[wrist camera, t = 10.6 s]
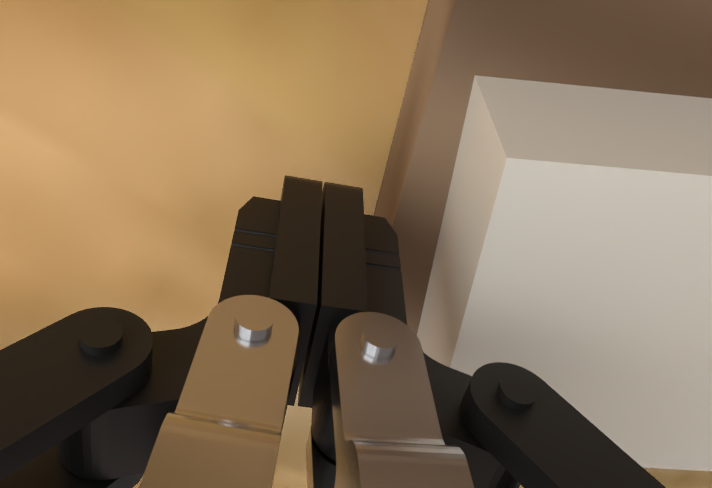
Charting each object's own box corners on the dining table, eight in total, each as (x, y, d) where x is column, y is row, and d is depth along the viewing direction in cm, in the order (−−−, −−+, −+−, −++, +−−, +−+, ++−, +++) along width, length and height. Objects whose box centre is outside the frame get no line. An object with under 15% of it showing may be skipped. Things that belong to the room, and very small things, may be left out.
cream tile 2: (474, 75, 12) (506, 157, 10) (840, 111, 13) (955, 197, 10) (413, 350, 16) (425, 455, 14) (691, 368, 17) (749, 473, 15)
